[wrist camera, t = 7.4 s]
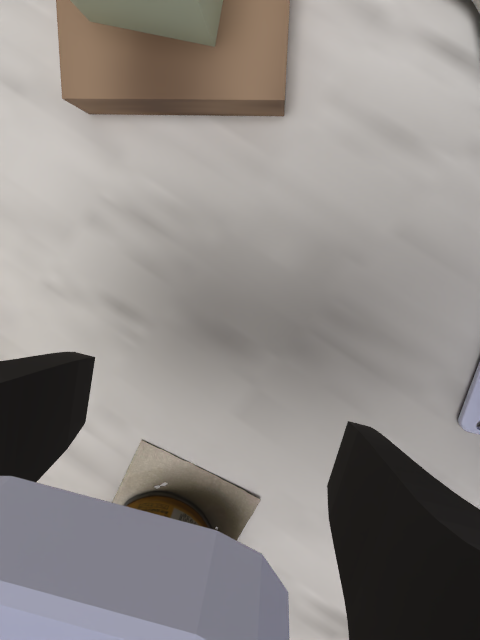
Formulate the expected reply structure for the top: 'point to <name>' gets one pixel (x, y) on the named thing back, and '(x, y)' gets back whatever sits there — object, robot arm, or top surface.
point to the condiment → (184, 492)
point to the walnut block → (177, 65)
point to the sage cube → (158, 17)
